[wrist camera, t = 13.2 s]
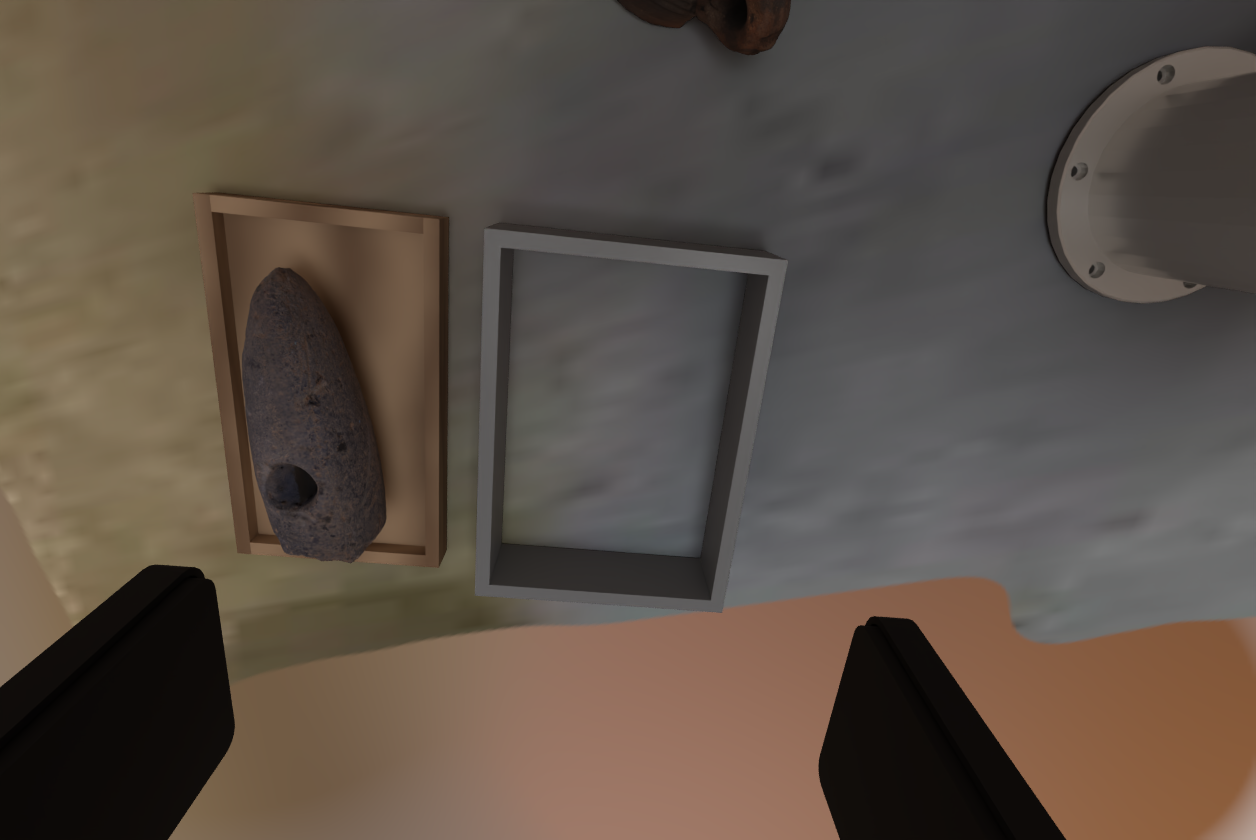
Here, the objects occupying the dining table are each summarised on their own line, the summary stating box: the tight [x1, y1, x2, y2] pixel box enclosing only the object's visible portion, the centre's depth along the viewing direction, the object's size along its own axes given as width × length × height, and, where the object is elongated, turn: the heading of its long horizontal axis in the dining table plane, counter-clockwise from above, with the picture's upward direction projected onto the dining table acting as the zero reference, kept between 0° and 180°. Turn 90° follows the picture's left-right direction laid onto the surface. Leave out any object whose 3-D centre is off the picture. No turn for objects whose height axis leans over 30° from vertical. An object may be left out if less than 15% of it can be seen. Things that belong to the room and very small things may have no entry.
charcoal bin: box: [475, 223, 788, 613], centre depth 36 cm, size 15×21×4 cm
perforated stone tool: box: [242, 267, 387, 563], centre depth 33 cm, size 15×5×7 cm, turn 3°
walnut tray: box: [193, 193, 449, 568], centre depth 36 cm, size 12×21×2 cm, turn 174°
